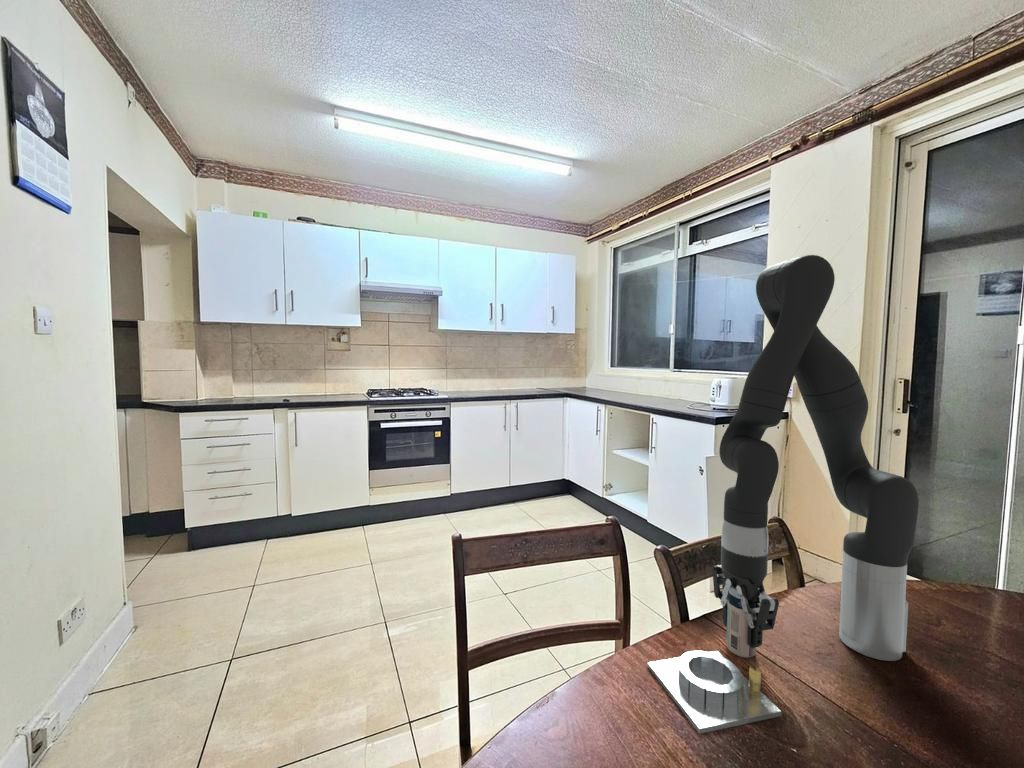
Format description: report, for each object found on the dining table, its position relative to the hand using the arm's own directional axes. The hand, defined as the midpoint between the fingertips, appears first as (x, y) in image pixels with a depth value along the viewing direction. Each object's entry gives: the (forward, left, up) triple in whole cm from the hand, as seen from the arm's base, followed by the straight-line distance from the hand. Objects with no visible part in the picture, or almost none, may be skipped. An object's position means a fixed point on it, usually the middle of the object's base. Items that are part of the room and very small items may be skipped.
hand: (741, 635), depth 80 cm
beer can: (0, 0, -3) cm, 3 cm away
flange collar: (+12, +7, -3) cm, 14 cm away
